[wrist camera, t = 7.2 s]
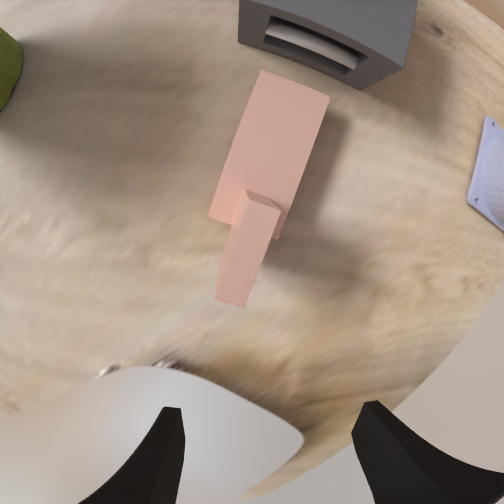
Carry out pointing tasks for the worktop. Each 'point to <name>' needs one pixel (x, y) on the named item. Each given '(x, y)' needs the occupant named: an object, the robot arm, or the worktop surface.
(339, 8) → the grey square box
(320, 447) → the worktop surface
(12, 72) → the plant pot
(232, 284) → the pink stepped block
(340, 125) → the worktop surface
